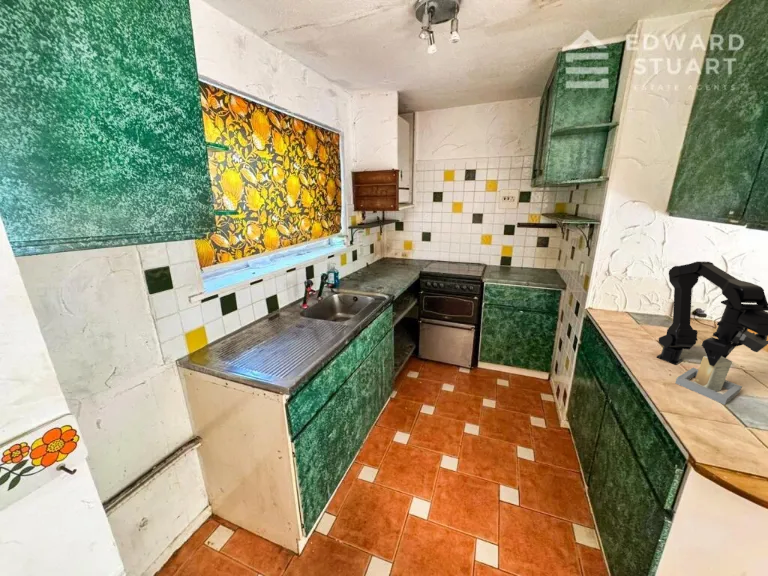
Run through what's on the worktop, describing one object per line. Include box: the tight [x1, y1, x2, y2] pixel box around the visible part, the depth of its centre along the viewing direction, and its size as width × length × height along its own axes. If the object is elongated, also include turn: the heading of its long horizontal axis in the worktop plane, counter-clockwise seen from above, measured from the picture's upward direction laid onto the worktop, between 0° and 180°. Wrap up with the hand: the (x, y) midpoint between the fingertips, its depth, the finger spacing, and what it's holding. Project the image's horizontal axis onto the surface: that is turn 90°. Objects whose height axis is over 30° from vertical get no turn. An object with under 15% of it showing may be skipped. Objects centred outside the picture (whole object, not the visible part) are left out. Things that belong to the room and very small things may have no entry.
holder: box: [675, 367, 743, 405], centre depth 109 cm, size 13×13×2 cm
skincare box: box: [693, 355, 733, 392], centre depth 107 cm, size 6×4×12 cm
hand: (717, 361), depth 105 cm, fingers open, 9 cm apart
